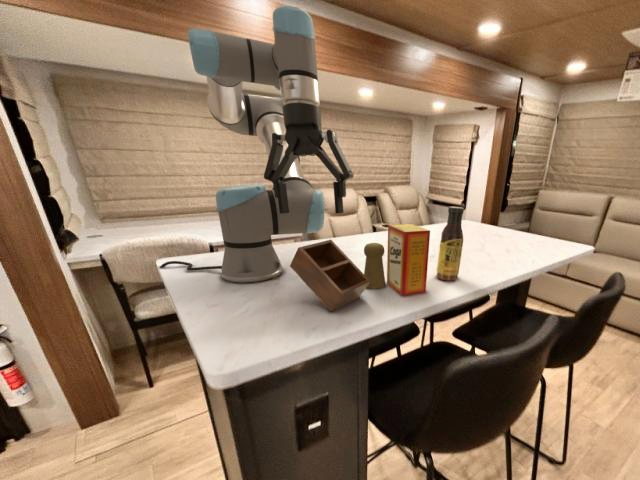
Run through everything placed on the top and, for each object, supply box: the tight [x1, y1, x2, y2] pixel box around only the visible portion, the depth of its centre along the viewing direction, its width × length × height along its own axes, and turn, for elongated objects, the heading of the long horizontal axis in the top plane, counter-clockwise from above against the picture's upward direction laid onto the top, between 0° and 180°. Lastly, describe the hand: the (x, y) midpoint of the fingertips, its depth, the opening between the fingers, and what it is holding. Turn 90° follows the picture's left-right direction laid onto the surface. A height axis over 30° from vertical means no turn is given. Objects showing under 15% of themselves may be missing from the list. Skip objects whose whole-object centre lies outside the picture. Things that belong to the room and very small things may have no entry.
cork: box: [363, 242, 386, 290], centre depth 80 cm, size 6×6×11 cm
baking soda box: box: [386, 223, 431, 297], centre depth 78 cm, size 10×6×16 cm
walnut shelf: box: [289, 239, 370, 312], centre depth 69 cm, size 14×10×6 cm
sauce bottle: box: [436, 206, 465, 282], centre depth 85 cm, size 6×6×20 cm
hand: (311, 213), depth 70 cm, fingers open, 13 cm apart
